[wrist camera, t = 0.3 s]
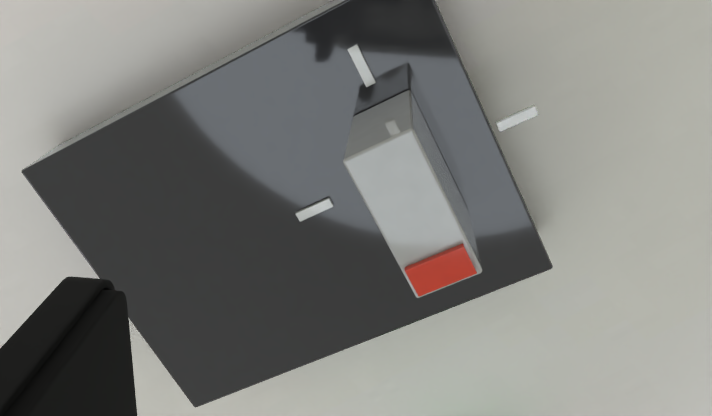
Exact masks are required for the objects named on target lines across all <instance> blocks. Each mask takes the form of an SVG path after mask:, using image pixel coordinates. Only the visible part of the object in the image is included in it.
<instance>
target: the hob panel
mask: <svg viewBox="0 0 712 416" xmlns="http://www.w3.org/2000/svg"><path fill="white" fill-rule="evenodd" d="M408 90H410V91H411V92H412V94H413V96H414V99H415V101H416V103H417V105H418V107H419V109H420V111H421V113H422V115H423V117H424V119H425V121H426V124H427V126H428V128H429V130H430V132H431V134H432V136H433V138H434V140H435V142H436V144H437V146H438V148H439V151H440V153H441V155H442V157H443V159H444V161H445V163H446V165H447V167H448V169H449V171H450V173H451V176H452V178H453V180H454V182H455V184H456V186H457V188H458V190H459V192H460V194H461V196H462V198H463V200H464V203H465V205H466V207H467V209H468V211H469V215H470V220H471V224H472V228H473V232H474V236H475V241H476V245H477V249H478V253H479V258H480V262H481V266H482V272H481V273H480V274H477V275H475V276H472V277H470V278H467V279H465V280H462V281H460V282H457V283H455V284H452V285H450V286H447V287H445V288H442V289H440V290H437V291H435V292H432V293H430V294H427V295H425V296H422V297H420V298H417V297H416V296H415V295H414V293H413V291H412V289H411V287H410V285H409V284H408V282H407V280H406V278H405V276H404V274H403V272H402V271H401V269H400V267H399V265H398V263H397V261H396V259H395V258H394V256H393V254H392V252H391V250H390V248H389V247H388V245H387V243H386V241H385V239H384V237H383V235H382V234H381V232H380V230H379V228H378V226H377V224H376V223H375V221H374V219H373V217H372V215H371V213H370V211H369V210H368V208H367V206H366V204H365V202H364V200H363V199H362V197H361V195H360V193H359V191H358V189H357V187H356V186H355V184H354V182H353V180H352V178H351V176H350V174H349V173H348V171H347V169H346V167H345V165H344V163H343V158H344V153H345V149H346V145H347V140H348V136H349V131H350V127H351V122H352V118H353V117H354V116H355V115H357V114H360V113H362V112H364V111H366V110H368V109H370V108H372V107H374V106H376V105H378V104H380V103H383V102H385V101H387V100H389V99H391V98H393V97H395V96H397V95H399V94H401V93H403V92H405V91H408ZM537 115H539V113H538V111H537V108H536V106H535V105H532V106H530V107H527V108H525V109H523V110H521V111H519V112H516V113H514V114H512V115H510V116H508V117H505V118H503V119H501V120H499V121H496V125H497V127H498V129H499V132H501V131H504V130H506V129H508V128H510V127H513V126H515V125H517V124H519V123H522V122H524V121H526V120H528V119H531V118H533V117H535V116H537ZM22 173H23V175H24V176H25V177H26V179H27V180H28V181H29V183H30V184H31V186H32V187H33V188H34V190H35V191H36V192H37V194H38V195H39V196H40V198H41V199H42V200H43V202H44V203H45V205H46V206H47V207H48V209H49V210H50V211H51V213H52V214H53V215H54V217H55V218H56V220H57V221H58V222H59V224H60V225H61V226H62V228H63V229H64V230H65V232H66V233H67V234H68V236H69V237H70V239H71V240H72V241H73V243H74V244H75V245H76V247H77V248H78V249H79V251H80V252H81V253H82V255H83V256H84V258H85V259H86V260H87V262H88V263H89V264H90V266H91V267H92V268H93V270H94V271H95V273H96V274H97V275H98V277H99V278H100V279H106V280H110V281H111V282H112V283H113V286H114V288H115V291H122V292H124V293H125V296H126V300H127V309H128V317H129V319H130V320H131V321H132V323H133V324H134V326H135V327H136V328H137V330H138V331H139V332H140V334H141V335H142V336H143V338H144V339H145V341H146V342H147V343H148V345H149V346H150V347H151V349H152V350H153V351H154V353H155V354H156V355H157V357H158V358H159V360H160V361H161V362H162V364H163V365H164V366H165V368H166V369H167V370H168V372H169V373H170V375H171V376H172V377H173V379H174V380H175V381H176V383H177V384H178V385H179V387H180V388H181V389H182V391H183V392H184V394H185V395H186V396H187V398H188V399H189V400H190V402H191V403H192V404H193V406H194V407H198V406H201V405H204V404H206V403H209V402H211V401H214V400H216V399H219V398H221V397H224V396H227V395H229V394H232V393H234V392H237V391H239V390H242V389H245V388H247V387H250V386H252V385H255V384H257V383H260V382H262V381H265V380H268V379H270V378H273V377H275V376H278V375H280V374H283V373H286V372H288V371H291V370H293V369H296V368H298V367H301V366H303V365H306V364H309V363H311V362H314V361H316V360H319V359H321V358H324V357H327V356H329V355H332V354H334V353H337V352H339V351H342V350H344V349H347V348H350V347H352V346H355V345H357V344H360V343H362V342H365V341H367V340H370V339H373V338H375V337H378V336H380V335H383V334H385V333H388V332H391V331H393V330H396V329H398V328H401V327H403V326H406V325H408V324H411V323H414V322H416V321H419V320H421V319H424V318H426V317H429V316H432V315H434V314H437V313H439V312H442V311H444V310H447V309H449V308H452V307H455V306H457V305H460V304H462V303H465V302H467V301H470V300H473V299H475V298H478V297H480V296H483V295H485V294H488V293H490V292H493V291H496V290H498V289H501V288H503V287H506V286H508V285H511V284H514V283H516V282H519V281H521V280H524V279H526V278H529V277H531V276H534V275H537V274H539V273H542V272H544V271H547V270H549V269H552V267H553V266H552V263H551V261H550V259H549V257H548V254H547V252H546V250H545V247H544V245H543V243H542V241H541V238H540V236H539V234H538V232H537V229H536V227H535V225H534V223H533V220H532V218H531V216H530V214H529V211H528V209H527V207H526V205H525V202H524V200H523V198H522V196H521V193H520V191H519V189H518V187H517V184H516V182H515V180H514V178H513V175H512V173H511V171H510V169H509V166H508V164H507V162H506V160H505V157H504V155H503V153H502V150H501V148H500V146H499V144H498V141H497V139H496V137H495V135H494V132H493V130H492V128H491V126H490V123H489V121H488V119H487V117H486V114H485V112H484V110H483V108H482V105H481V103H480V101H479V99H478V96H477V94H476V92H475V90H474V87H473V85H472V83H471V81H470V78H469V76H468V74H467V72H466V69H465V67H464V65H463V63H462V60H461V58H460V56H459V54H458V51H457V49H456V47H455V45H454V42H453V40H452V38H451V36H450V33H449V31H448V29H447V27H446V24H445V22H444V20H443V18H442V15H441V13H440V11H439V9H438V6H437V4H436V2H435V0H332V1H330V2H328V3H327V4H325V5H323V6H321V7H319V8H317V9H315V10H313V11H311V12H310V13H308V14H306V15H304V16H302V17H300V18H298V19H296V20H294V21H293V22H291V23H289V24H287V25H285V26H283V27H281V28H279V29H277V30H276V31H274V32H272V33H270V34H268V35H266V36H264V37H262V38H260V39H258V40H257V41H255V42H253V43H251V44H249V45H247V46H245V47H243V48H241V49H240V50H238V51H236V52H234V53H232V54H230V55H228V56H226V57H224V58H223V59H221V60H219V61H217V62H215V63H213V64H211V65H209V66H207V67H206V68H204V69H202V70H200V71H198V72H196V73H194V74H192V75H190V76H189V77H187V78H185V79H183V80H181V81H179V82H177V83H175V84H173V85H171V86H170V87H168V88H166V89H164V90H162V91H160V92H158V93H156V94H154V95H153V96H151V97H149V98H147V99H145V100H143V101H141V102H139V103H137V104H136V105H134V106H132V107H130V108H128V109H126V110H124V111H122V112H120V113H119V114H117V115H115V116H113V117H111V118H109V119H107V120H105V121H103V122H101V123H100V124H98V125H96V126H94V127H92V128H90V129H88V130H86V131H84V132H83V133H81V134H79V135H77V136H75V137H73V138H71V139H69V140H67V141H66V142H64V143H62V144H60V145H58V146H57V147H55V148H54V149H52V150H51V151H49V152H48V153H46V154H45V155H43V156H42V157H40V158H39V159H38V160H36V161H35V162H33V163H32V164H30V165H29V166H27V167H26V168H24V169H23V170H22Z"/></svg>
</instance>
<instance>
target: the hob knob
mask: <svg viewBox="0 0 712 416" xmlns="http://www.w3.org/2000/svg"><path fill="white" fill-rule="evenodd" d="M343 163H344V165H345V167H346V169H347V171H348V173H349V174H350V176H351V178H352V180H353V182H354V184H355V186H356V187H357V189H358V191H359V193H360V195H361V197H362V199H363V200H364V202H365V204H366V206H367V208H368V210H369V211H370V213H371V215H372V217H373V219H374V221H375V223H376V224H377V226H378V228H379V230H380V232H381V234H382V235H383V237H384V239H385V241H386V243H387V245H388V247H389V248H390V250H391V252H392V254H393V256H394V258H395V259H396V261H397V263H398V265H399V267H400V269H401V271H402V272H403V274H404V276H405V278H406V280H407V282H408V284H409V285H410V287H411V289H412V291H413V293H414V295H415V296H416V297H417V298H420V297H422V296H425V295H427V294H430V293H432V292H435V291H437V290H440V289H442V288H445V287H447V286H450V285H452V284H455V283H457V282H460V281H462V280H465V279H467V278H470V277H472V276H475V275H477V274H480V273H481V272H482V266H481V262H480V258H479V253H478V249H477V245H476V241H475V236H474V232H473V228H472V224H471V220H470V215H469V211H468V209H467V207H466V205H465V203H464V200H463V198H462V196H461V194H460V192H459V190H458V188H457V186H456V184H455V182H454V180H453V178H452V176H451V173H450V171H449V169H448V167H447V165H446V163H445V161H444V159H443V157H442V155H441V153H440V151H439V148H438V146H437V144H436V142H435V140H434V138H433V136H432V134H431V132H430V130H429V128H428V126H427V124H426V121H425V119H424V117H423V115H422V113H421V111H420V109H419V107H418V105H417V103H416V101H415V99H414V96H413V94H412V92H411V91H410V90H408V91H405V92H403V93H401V94H399V95H397V96H395V97H393V98H391V99H389V100H387V101H385V102H383V103H380V104H378V105H376V106H374V107H372V108H370V109H368V110H366V111H364V112H362V113H360V114H357V115H355V116H354V117H353V118H352V122H351V127H350V131H349V136H348V140H347V145H346V149H345V153H344V158H343Z"/></svg>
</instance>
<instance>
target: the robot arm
mask: <svg viewBox="0 0 712 416" xmlns="http://www.w3.org/2000/svg"><path fill="white" fill-rule="evenodd" d="M0 416H137V409H136V398H135V387H134V376H133V364H132V353H131V342H130V331H129V320H128V309H127V300H126V296H125V293H124V292H122V291H115V288H114V286H113V283H112V282H111V281H110V280H106V279H93V278H81V277H67V278H65V279H64V280H63V281H62V282H61V283H60V284H59V285H58V286H57V287H56V288H55V289H54V291H53V292H52V293H51V294H50V295H49V296H48V297H47V298H46V299H45V300H44V301H43V303H42V304H41V305H40V306H39V307H38V308H37V309H36V310H35V311H34V312H33V314H32V315H31V316H30V317H29V318H28V319H27V320H26V321H25V322H24V323H23V324H22V326H21V327H20V328H19V329H18V330H17V331H16V332H15V333H14V334H13V335H12V336H11V338H10V339H9V340H8V341H7V342H6V343H5V344H4V345H3V346H2V347H1V348H0Z"/></svg>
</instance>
